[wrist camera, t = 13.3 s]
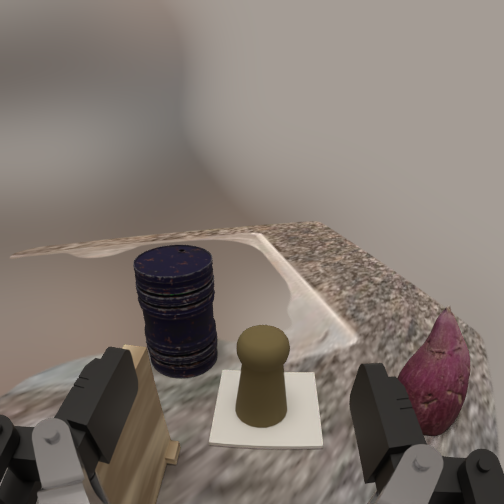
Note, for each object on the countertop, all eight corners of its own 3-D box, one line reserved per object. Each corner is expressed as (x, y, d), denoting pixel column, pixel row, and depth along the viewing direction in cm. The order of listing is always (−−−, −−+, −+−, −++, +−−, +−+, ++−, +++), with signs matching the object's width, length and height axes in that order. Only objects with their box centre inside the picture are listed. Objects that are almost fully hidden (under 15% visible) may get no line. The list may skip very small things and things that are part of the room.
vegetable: (377, 401, 39) (381, 299, 37) (441, 387, 38) (452, 289, 36) (398, 448, 28) (413, 330, 26) (473, 426, 27) (496, 312, 25)
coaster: (209, 445, 30) (208, 442, 29) (222, 372, 41) (222, 369, 41) (322, 448, 29) (323, 445, 29) (313, 375, 40) (314, 372, 40)
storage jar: (205, 385, 38) (195, 282, 33) (138, 369, 40) (116, 271, 35) (226, 340, 47) (223, 247, 42) (167, 330, 49) (155, 241, 44)
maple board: (113, 537, 18) (42, 466, 12) (146, 439, 30) (113, 342, 24) (155, 548, 17) (98, 488, 12) (181, 445, 29) (158, 348, 24)
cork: (232, 393, 37) (228, 319, 33) (280, 387, 37) (286, 314, 33) (238, 430, 31) (235, 356, 27) (293, 423, 32) (303, 349, 28)
